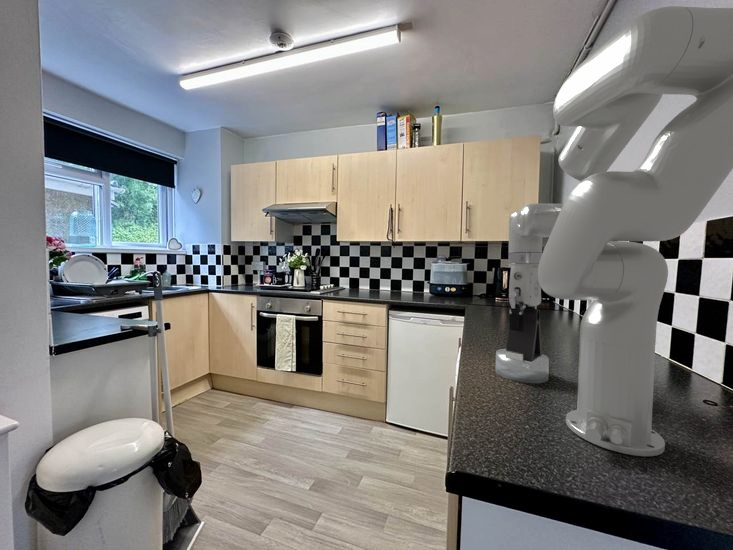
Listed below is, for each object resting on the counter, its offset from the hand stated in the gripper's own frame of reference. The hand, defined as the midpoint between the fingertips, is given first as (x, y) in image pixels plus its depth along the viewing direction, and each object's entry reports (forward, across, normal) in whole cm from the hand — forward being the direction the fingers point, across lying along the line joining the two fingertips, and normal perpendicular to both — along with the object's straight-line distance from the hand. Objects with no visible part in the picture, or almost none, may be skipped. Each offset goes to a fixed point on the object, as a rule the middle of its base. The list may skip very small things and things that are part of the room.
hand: (523, 328), depth 77 cm
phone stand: (+7, 0, 0) cm, 7 cm away
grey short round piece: (+12, 0, 0) cm, 12 cm away
